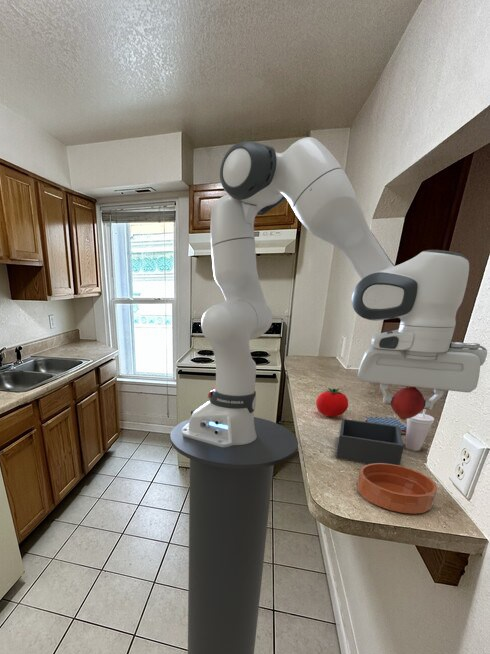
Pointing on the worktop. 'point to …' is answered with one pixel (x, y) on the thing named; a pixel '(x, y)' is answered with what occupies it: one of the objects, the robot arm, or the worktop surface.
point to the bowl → (396, 488)
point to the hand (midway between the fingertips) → (405, 406)
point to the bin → (369, 442)
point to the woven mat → (388, 422)
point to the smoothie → (417, 430)
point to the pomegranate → (407, 402)
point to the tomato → (332, 403)
